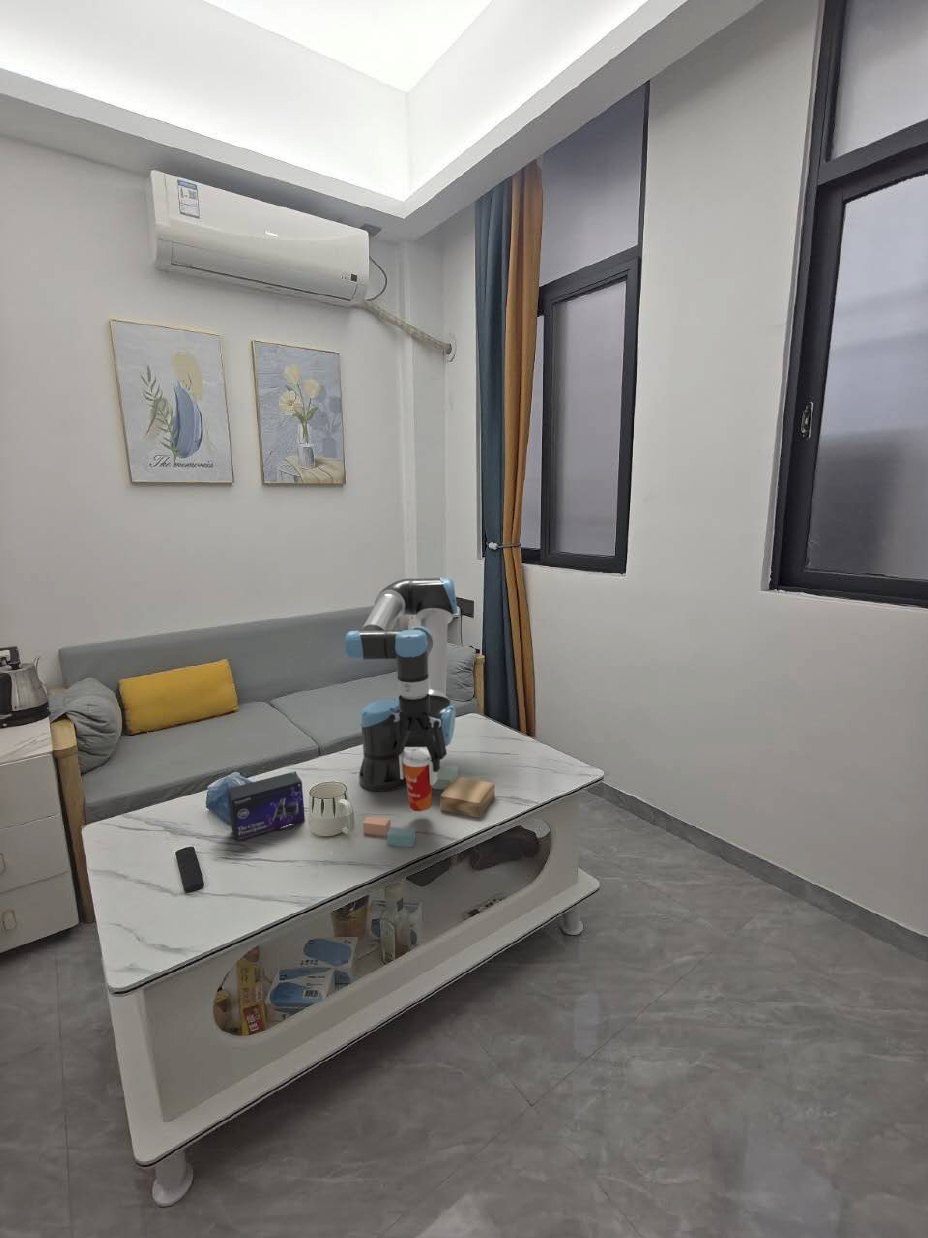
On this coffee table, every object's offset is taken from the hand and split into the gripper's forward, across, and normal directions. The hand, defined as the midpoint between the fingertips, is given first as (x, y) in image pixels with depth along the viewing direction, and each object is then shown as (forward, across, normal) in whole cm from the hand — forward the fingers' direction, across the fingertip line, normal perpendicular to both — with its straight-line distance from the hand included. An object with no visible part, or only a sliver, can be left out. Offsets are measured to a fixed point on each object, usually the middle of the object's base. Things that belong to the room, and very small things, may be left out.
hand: (418, 779), depth 145 cm
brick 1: (+11, -8, -9) cm, 16 cm away
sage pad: (+12, -4, +19) cm, 23 cm away
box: (+11, -35, -17) cm, 40 cm away
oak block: (+11, +8, +11) cm, 18 cm away
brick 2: (+11, 0, -11) cm, 15 cm away
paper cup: (+7, 0, 0) cm, 7 cm away
